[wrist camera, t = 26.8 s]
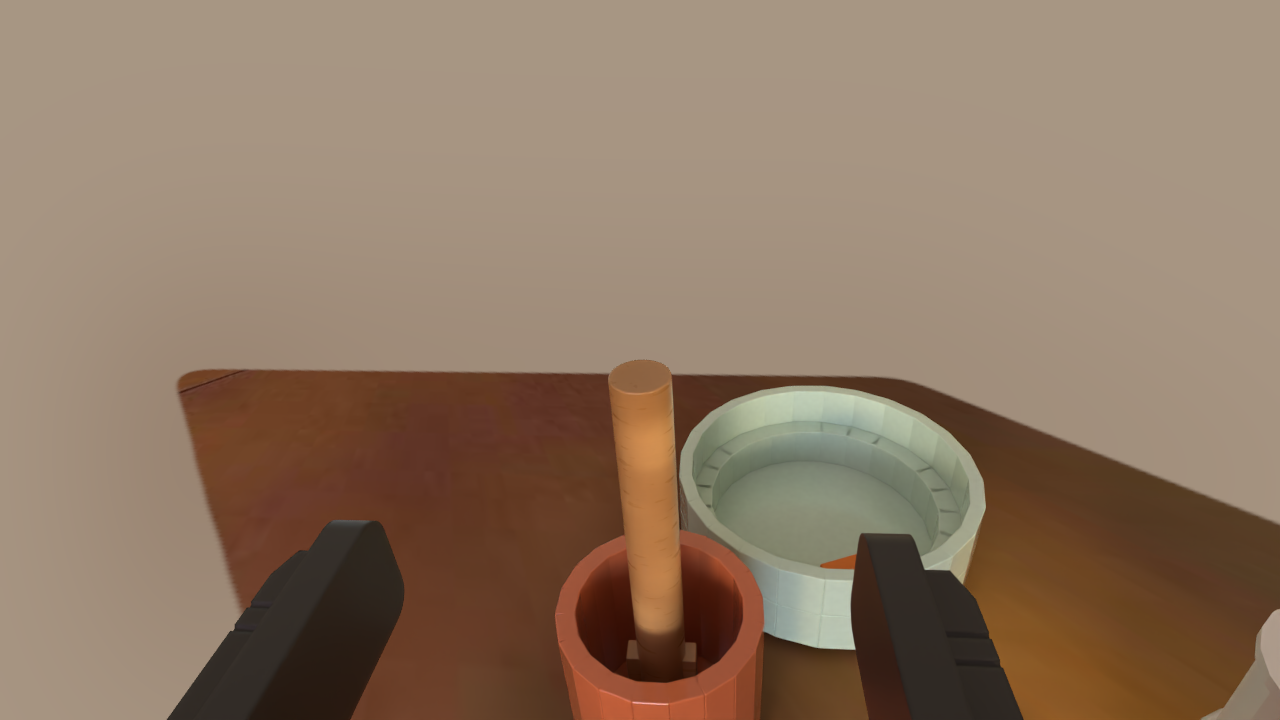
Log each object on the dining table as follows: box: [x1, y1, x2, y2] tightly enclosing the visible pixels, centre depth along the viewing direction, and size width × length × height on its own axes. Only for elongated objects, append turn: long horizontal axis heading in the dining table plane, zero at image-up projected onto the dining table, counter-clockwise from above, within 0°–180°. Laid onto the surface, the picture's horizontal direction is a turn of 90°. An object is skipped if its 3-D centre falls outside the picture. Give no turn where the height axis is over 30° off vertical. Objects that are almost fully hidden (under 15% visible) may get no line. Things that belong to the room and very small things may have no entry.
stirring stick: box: [608, 360, 698, 683], centre depth 28 cm, size 3×2×20 cm
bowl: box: [679, 386, 986, 650], centre depth 42 cm, size 18×18×6 cm
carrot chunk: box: [820, 554, 857, 569], centre depth 39 cm, size 3×3×1 cm
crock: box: [555, 529, 765, 720], centre depth 31 cm, size 9×9×9 cm
